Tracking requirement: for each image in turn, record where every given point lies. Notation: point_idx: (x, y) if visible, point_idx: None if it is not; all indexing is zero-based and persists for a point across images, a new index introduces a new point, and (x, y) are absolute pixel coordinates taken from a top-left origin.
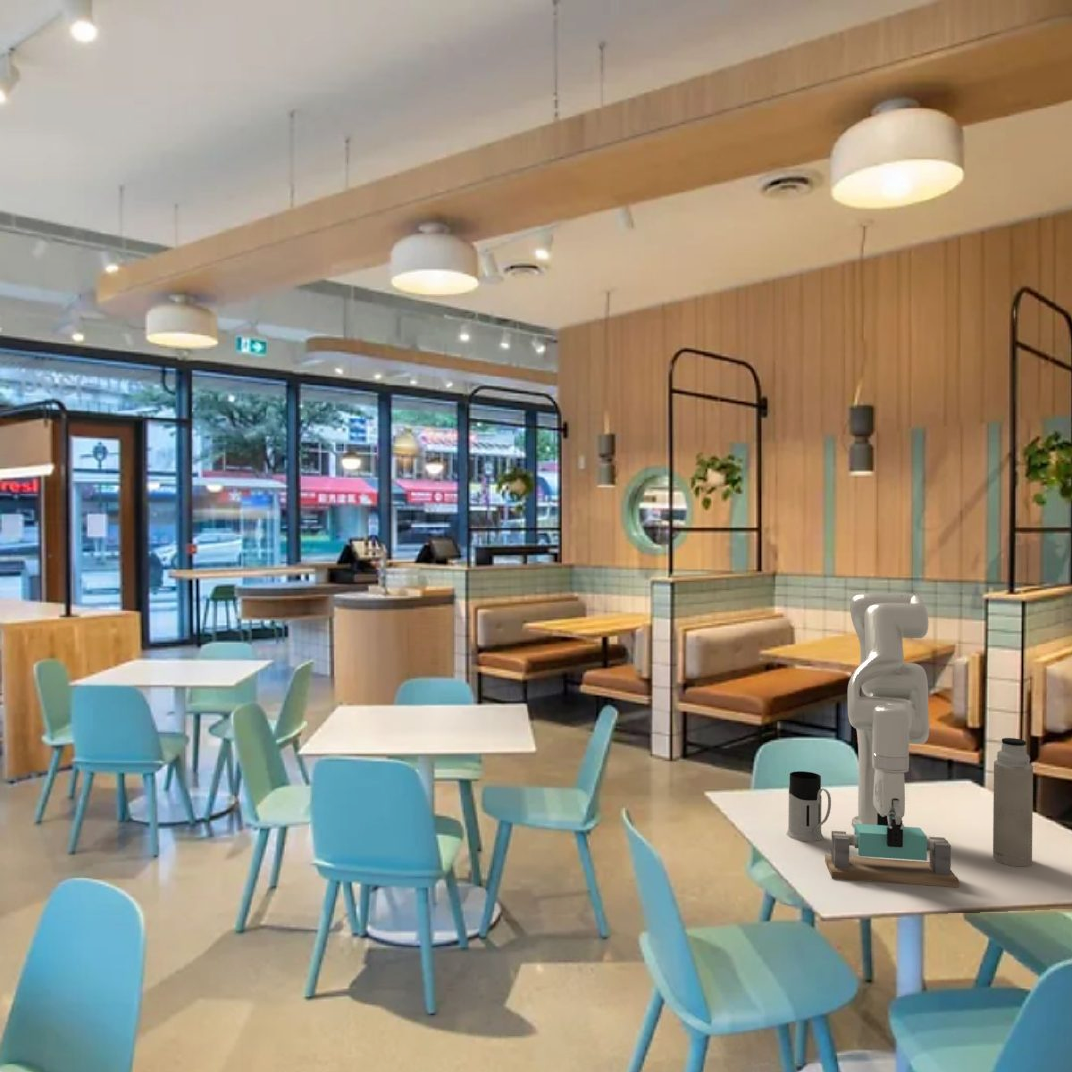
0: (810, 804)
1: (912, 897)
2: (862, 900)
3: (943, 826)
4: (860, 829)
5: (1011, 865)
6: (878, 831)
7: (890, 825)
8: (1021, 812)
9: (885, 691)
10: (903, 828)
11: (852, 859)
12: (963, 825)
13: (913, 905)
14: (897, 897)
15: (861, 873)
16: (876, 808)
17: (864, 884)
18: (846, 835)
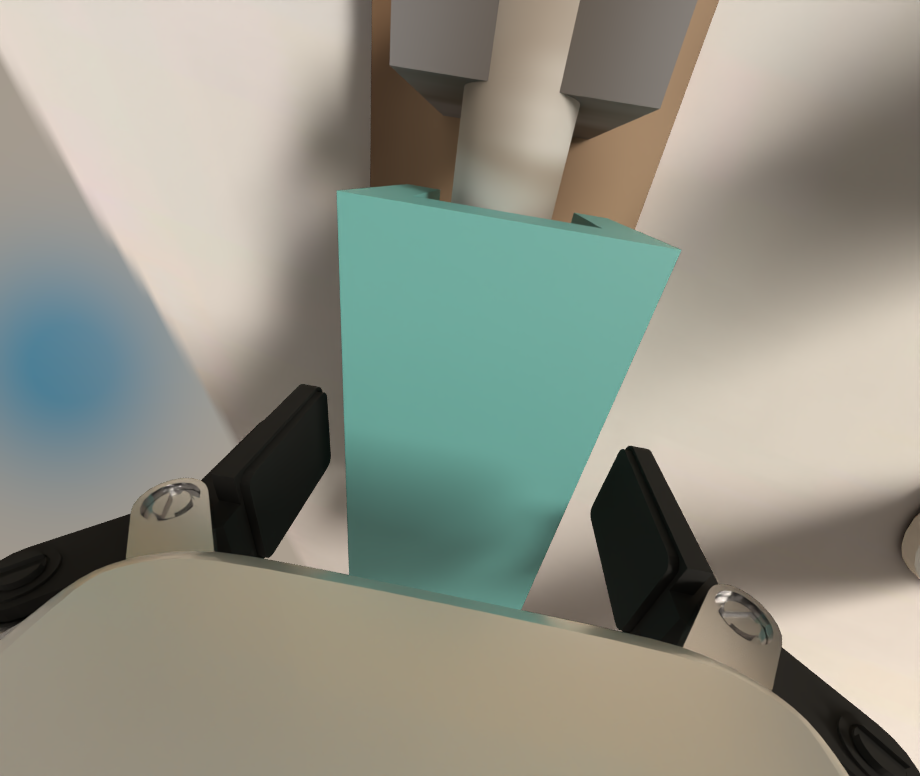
0: None
1: (246, 340)
2: (113, 77)
3: (883, 668)
4: (458, 250)
5: None
6: (407, 407)
7: (135, 515)
8: None
9: None
10: (492, 576)
11: (595, 200)
12: (857, 699)
13: (168, 313)
14: (224, 281)
15: (371, 176)
16: (450, 630)
17: (334, 174)
18: (502, 63)
